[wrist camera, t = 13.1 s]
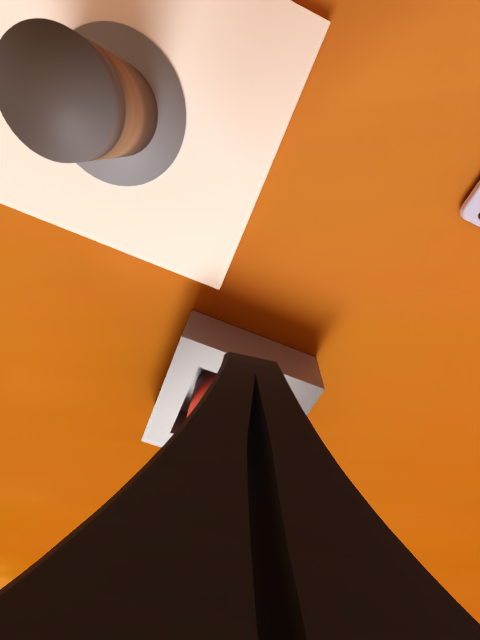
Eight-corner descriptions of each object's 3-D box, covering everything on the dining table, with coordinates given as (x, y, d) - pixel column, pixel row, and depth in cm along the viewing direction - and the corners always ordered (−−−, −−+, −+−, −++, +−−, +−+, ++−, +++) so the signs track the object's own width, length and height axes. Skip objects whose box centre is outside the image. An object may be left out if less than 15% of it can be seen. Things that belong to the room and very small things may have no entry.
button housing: (316, 357, 21) (324, 389, 18) (262, 442, 24) (262, 479, 22) (191, 309, 19) (181, 336, 17) (154, 406, 23) (141, 440, 20)
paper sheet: (328, 25, 13) (331, 21, 13) (220, 286, 19) (219, 290, 18) (-42, -173, 11) (-57, -189, 11) (-44, 181, 17) (-54, 182, 16)
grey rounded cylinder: (168, 81, 14) (126, 54, 10) (145, 169, 16) (101, 181, 11) (81, 40, 13) (-5, -8, 9) (67, 136, 15) (-12, 134, 11)
